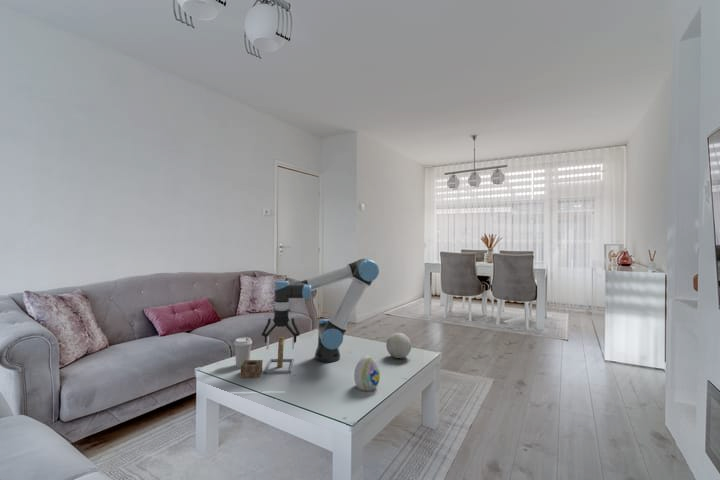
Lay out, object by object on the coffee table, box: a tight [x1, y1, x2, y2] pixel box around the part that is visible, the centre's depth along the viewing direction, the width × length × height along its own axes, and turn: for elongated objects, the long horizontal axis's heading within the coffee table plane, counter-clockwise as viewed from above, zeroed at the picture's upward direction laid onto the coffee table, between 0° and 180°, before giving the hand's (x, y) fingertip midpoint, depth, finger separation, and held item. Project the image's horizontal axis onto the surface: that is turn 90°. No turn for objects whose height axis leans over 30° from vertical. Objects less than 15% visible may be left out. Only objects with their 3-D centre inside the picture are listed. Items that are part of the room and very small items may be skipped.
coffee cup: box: [233, 337, 253, 369], centre depth 187 cm, size 10×10×15 cm
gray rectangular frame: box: [264, 358, 295, 375], centre depth 187 cm, size 13×19×2 cm
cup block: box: [240, 359, 263, 379], centre depth 176 cm, size 9×9×6 cm
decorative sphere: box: [386, 332, 412, 359], centre depth 210 cm, size 15×15×15 cm
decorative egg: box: [353, 355, 381, 392], centre depth 165 cm, size 12×12×15 cm
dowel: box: [276, 336, 285, 369], centre depth 187 cm, size 3×3×16 cm
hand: (280, 348), depth 187 cm, fingers open, 13 cm apart
